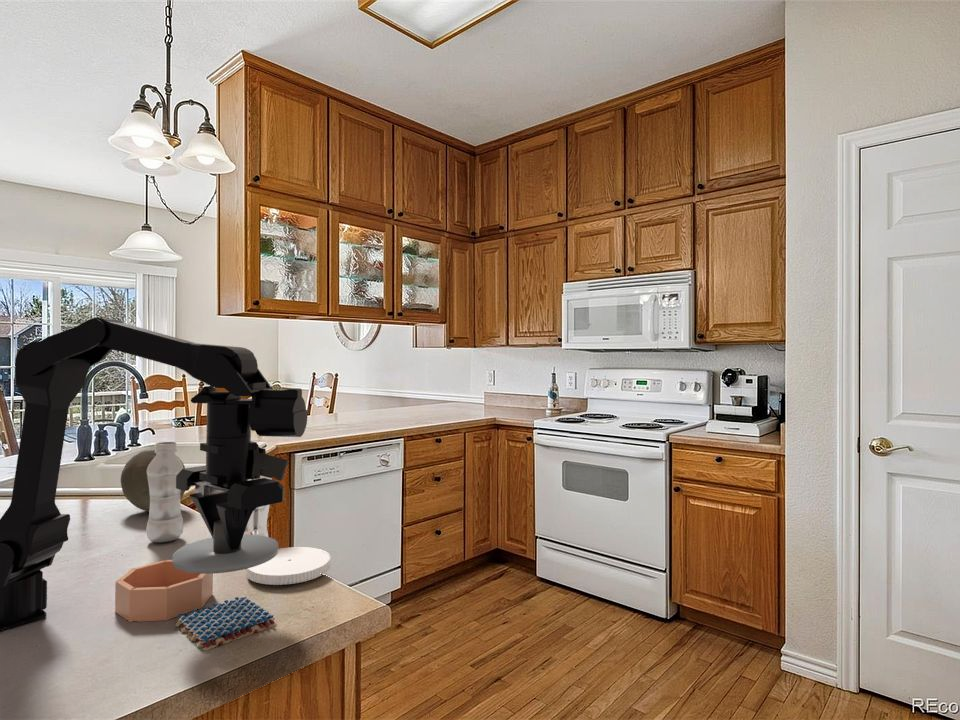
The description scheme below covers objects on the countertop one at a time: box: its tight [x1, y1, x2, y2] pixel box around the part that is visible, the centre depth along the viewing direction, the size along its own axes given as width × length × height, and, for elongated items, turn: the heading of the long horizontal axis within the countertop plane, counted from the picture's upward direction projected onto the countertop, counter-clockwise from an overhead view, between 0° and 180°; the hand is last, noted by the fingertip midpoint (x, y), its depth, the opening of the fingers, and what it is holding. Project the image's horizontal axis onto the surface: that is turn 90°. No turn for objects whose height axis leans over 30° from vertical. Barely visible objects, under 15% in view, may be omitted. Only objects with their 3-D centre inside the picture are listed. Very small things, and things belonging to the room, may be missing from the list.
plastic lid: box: [245, 546, 332, 586], centre depth 99 cm, size 14×14×2 cm
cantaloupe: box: [120, 449, 186, 512], centre depth 135 cm, size 14×14×15 cm
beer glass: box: [244, 476, 273, 537], centre depth 115 cm, size 7×7×15 cm
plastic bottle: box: [145, 441, 184, 543], centre depth 114 cm, size 6×7×20 cm
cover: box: [171, 519, 279, 575], centre depth 79 cm, size 14×14×5 cm
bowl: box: [114, 559, 214, 623], centre depth 86 cm, size 12×12×4 cm
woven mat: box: [175, 596, 278, 651], centre depth 79 cm, size 10×11×2 cm
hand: (226, 546), depth 79 cm, fingers closed on cover, 4 cm apart
